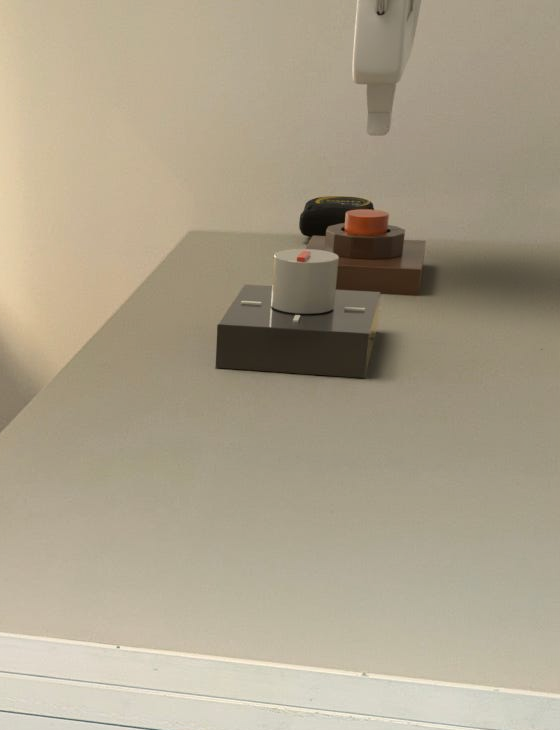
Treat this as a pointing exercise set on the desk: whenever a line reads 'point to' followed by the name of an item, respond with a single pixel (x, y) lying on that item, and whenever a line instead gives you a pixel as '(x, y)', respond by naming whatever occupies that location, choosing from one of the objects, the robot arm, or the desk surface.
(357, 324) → the knob base
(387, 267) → the switch block
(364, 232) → the power button
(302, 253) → the hob knob
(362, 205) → the tape measure
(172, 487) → the desk surface
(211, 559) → the desk surface
